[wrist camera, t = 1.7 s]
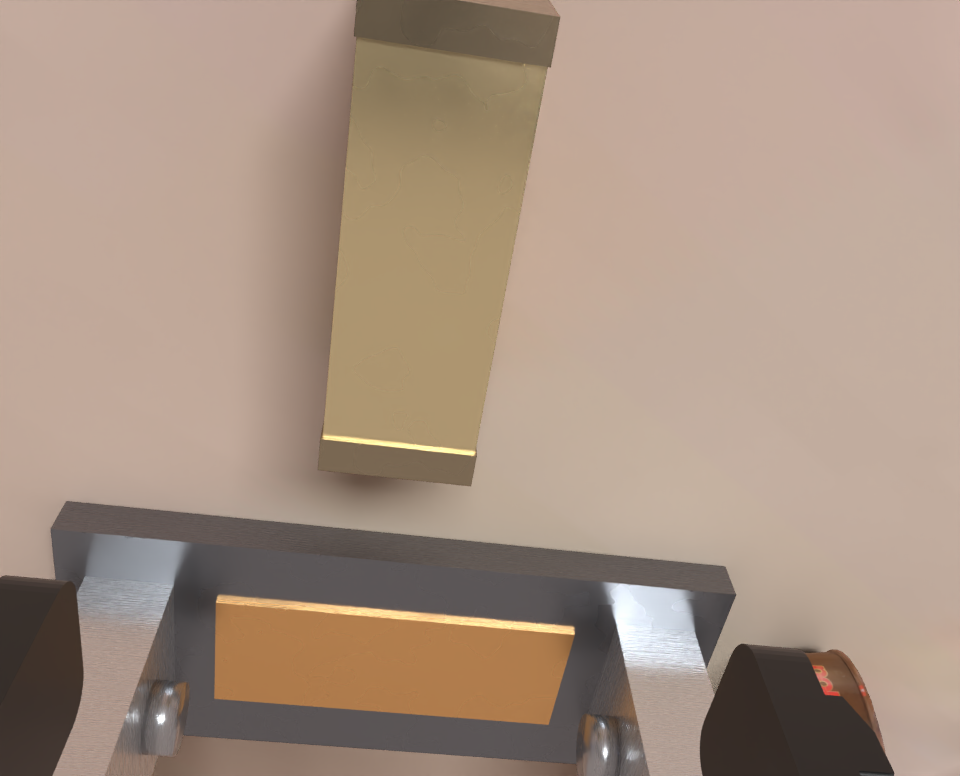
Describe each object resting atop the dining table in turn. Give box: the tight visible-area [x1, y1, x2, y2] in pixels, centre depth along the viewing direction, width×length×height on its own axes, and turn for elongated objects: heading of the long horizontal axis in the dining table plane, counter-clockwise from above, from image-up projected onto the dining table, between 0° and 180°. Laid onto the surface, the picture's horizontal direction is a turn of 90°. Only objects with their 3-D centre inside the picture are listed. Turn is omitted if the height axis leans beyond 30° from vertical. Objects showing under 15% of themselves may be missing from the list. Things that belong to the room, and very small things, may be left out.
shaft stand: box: [51, 501, 736, 776], centre depth 32 cm, size 25×10×10 cm, turn 81°
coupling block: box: [318, 0, 560, 486], centre depth 24 cm, size 12×4×6 cm, turn 171°
